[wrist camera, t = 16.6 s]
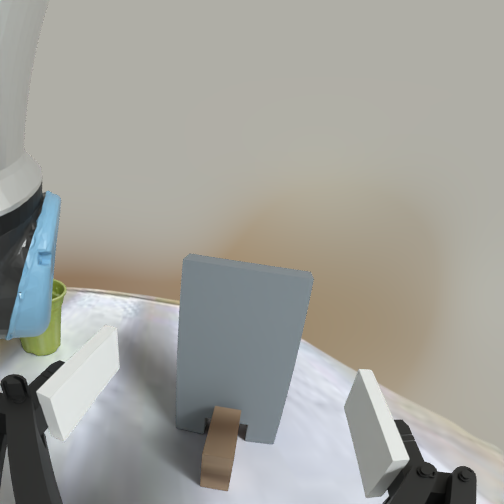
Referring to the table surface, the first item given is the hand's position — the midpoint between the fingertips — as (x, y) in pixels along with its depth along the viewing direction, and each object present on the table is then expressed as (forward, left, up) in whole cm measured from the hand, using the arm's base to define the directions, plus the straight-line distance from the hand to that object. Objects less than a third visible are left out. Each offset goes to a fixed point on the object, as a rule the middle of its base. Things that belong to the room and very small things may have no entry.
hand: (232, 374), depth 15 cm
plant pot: (-32, -3, -15) cm, 36 cm away
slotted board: (-8, +11, -15) cm, 21 cm away
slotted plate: (-6, +8, -15) cm, 18 cm away
